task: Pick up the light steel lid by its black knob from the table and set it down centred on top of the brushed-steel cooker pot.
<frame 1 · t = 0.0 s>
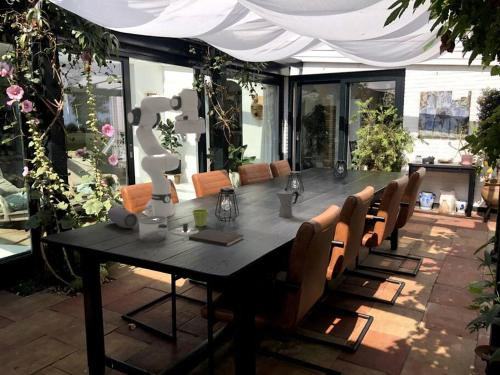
hand: (190, 141, 232), 48 cm above the table, fingers open, 8 cm apart
lid: (185, 232, 222), on the table
hardcover book: (216, 240, 208), on the table
plant pot: (200, 225, 235), on the table
bluetooth speaker: (122, 226, 233), on the table
cooker: (153, 237, 210), on the table
coffeepot: (287, 215, 260), on the table
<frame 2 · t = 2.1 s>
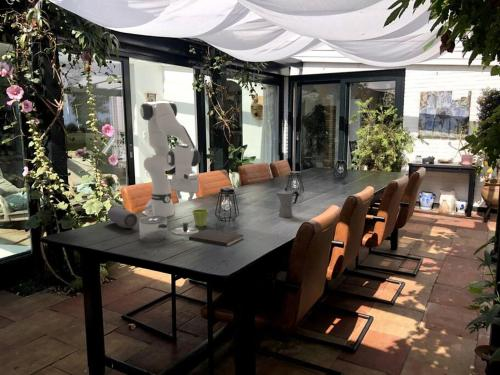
hand: (184, 199, 219), 18 cm above the table, fingers open, 8 cm apart
nothing on the table moved.
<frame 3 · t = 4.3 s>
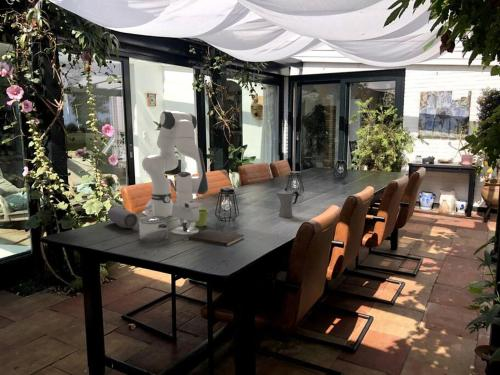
hand: (185, 227, 222), 2 cm above the table, fingers closed on lid, 3 cm apart
lid: (185, 231, 222), on the table, touching gripper
everything else where it was.
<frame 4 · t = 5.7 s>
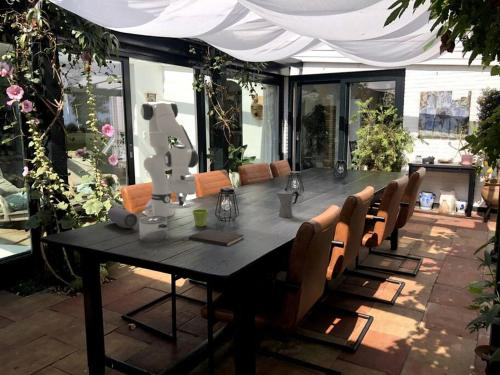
hand: (181, 201, 218), 17 cm above the table, fingers closed on lid, 3 cm apart
lid: (181, 205, 218), point 15 cm above the table, touching gripper
everything else where it was.
when the fingers open (13 cm above the table, at t = 7.6 s): lid stays where it is, resting on cooker.
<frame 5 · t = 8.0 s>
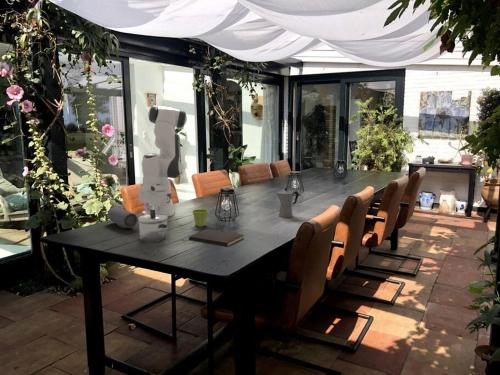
hand: (152, 212, 208), 13 cm above the table, fingers open, 7 cm apart
lid: (153, 218, 208), point 10 cm above the table, touching cooker
everything else where it was.
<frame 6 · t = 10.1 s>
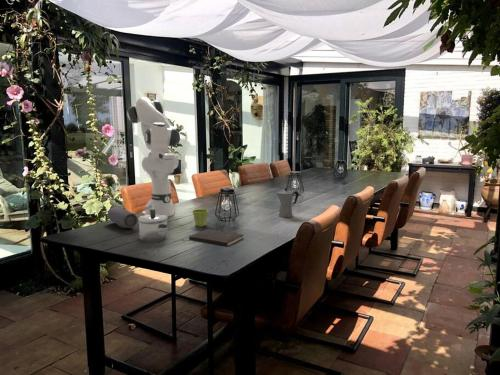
hand: (159, 179, 215), 29 cm above the table, fingers open, 8 cm apart
nothing on the table moved.
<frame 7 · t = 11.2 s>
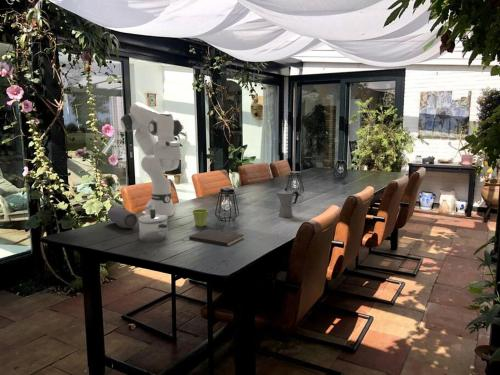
hand: (166, 167, 226), 34 cm above the table, fingers open, 8 cm apart
nothing on the table moved.
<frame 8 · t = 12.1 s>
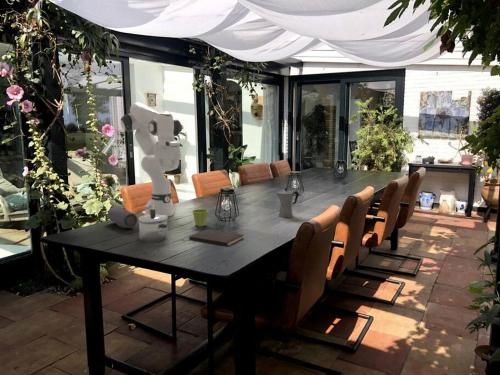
hand: (166, 167, 226), 34 cm above the table, fingers open, 8 cm apart
nothing on the table moved.
at the end: lid 0.0 cm off-centre on the cooker, point 10.0 cm above the cooker's base; lid tilted 0°; the gripper is holding nothing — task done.
